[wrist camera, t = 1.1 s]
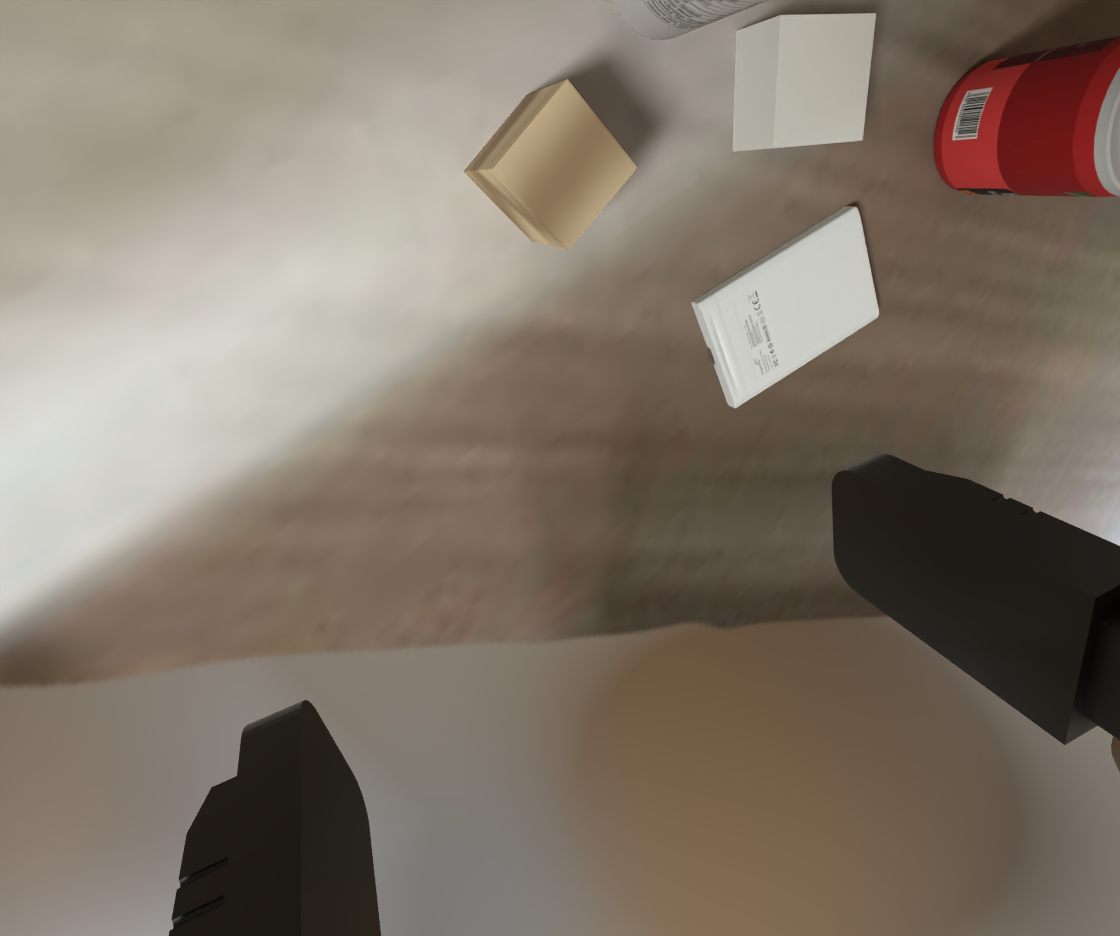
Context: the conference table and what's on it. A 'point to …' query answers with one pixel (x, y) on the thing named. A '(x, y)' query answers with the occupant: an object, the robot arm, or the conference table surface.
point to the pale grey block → (802, 80)
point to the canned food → (1035, 124)
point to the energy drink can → (675, 15)
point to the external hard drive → (789, 306)
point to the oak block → (552, 166)
